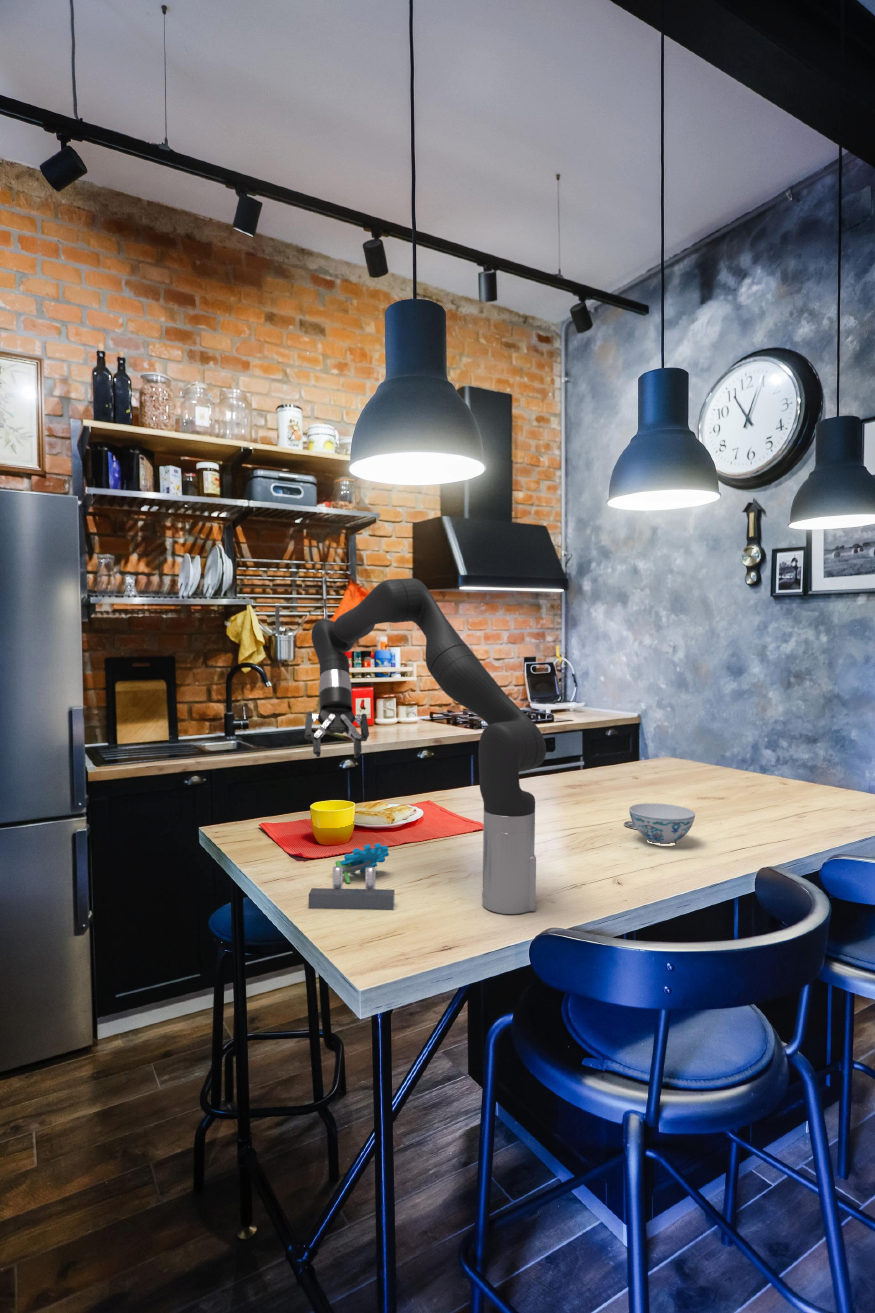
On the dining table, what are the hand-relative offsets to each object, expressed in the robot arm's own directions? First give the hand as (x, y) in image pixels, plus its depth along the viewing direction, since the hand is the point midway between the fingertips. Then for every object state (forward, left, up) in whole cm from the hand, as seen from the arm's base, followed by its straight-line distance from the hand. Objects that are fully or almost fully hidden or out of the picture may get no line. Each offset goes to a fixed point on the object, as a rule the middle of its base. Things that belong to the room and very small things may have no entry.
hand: (337, 756), depth 159 cm
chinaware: (-76, -12, -22) cm, 80 cm away
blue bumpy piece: (-8, +16, -22) cm, 28 cm away
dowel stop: (-8, +30, -22) cm, 38 cm away
